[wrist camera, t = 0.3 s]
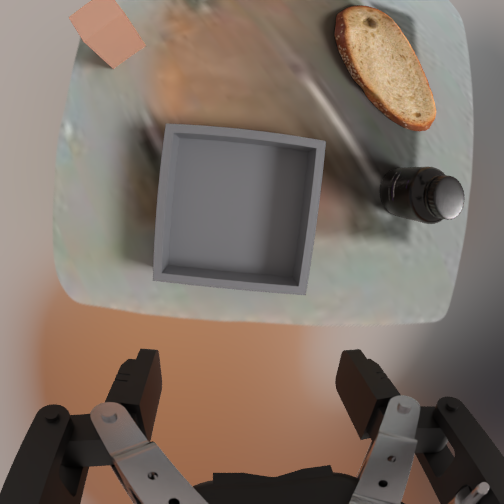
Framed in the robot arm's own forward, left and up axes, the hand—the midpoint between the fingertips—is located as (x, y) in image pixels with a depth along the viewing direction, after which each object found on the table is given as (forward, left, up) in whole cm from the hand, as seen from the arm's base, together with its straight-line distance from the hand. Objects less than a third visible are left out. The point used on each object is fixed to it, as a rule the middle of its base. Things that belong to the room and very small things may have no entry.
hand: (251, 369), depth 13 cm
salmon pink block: (-27, -20, -28) cm, 44 cm away
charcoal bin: (-5, -1, -28) cm, 28 cm away
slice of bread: (-29, +18, -29) cm, 44 cm away
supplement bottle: (-10, +21, -28) cm, 37 cm away
